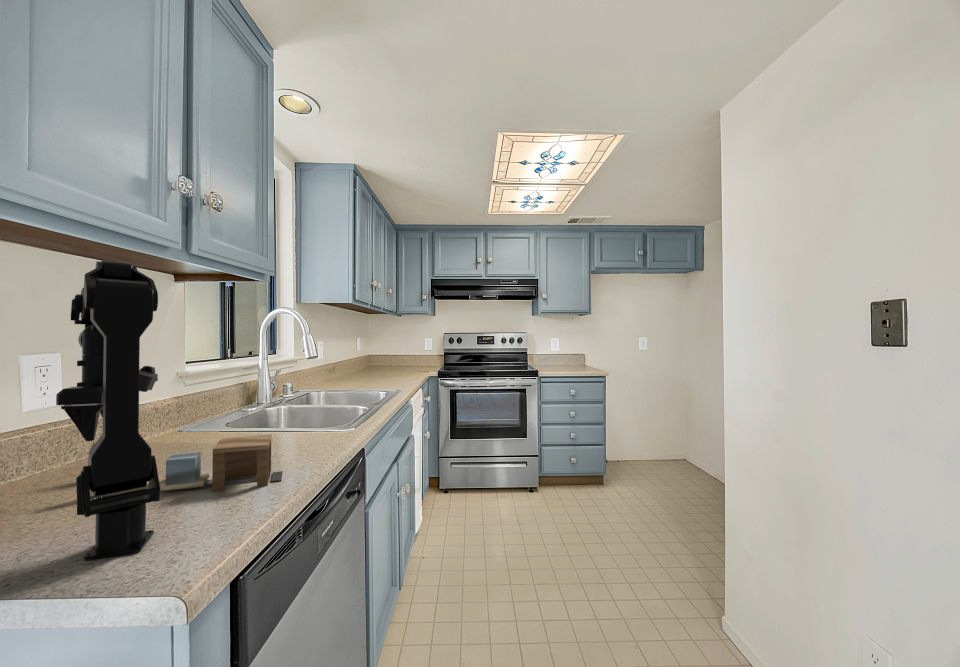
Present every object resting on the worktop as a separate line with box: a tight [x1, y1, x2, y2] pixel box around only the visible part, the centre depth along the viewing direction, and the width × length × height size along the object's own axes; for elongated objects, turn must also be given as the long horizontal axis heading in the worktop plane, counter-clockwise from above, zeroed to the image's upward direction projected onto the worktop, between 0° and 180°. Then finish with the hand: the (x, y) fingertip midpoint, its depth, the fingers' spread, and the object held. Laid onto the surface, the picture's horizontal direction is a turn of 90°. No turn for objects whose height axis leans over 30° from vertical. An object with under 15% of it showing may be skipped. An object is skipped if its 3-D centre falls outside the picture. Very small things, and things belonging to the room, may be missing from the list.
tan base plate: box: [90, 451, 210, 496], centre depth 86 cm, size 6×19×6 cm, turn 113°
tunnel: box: [211, 434, 272, 493], centre depth 92 cm, size 10×10×8 cm
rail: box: [90, 473, 271, 500], centre depth 88 cm, size 2×32×1 cm, turn 113°
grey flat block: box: [270, 470, 284, 483], centre depth 95 cm, size 6×2×1 cm, turn 22°
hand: (101, 435), depth 82 cm, fingers open, 9 cm apart
